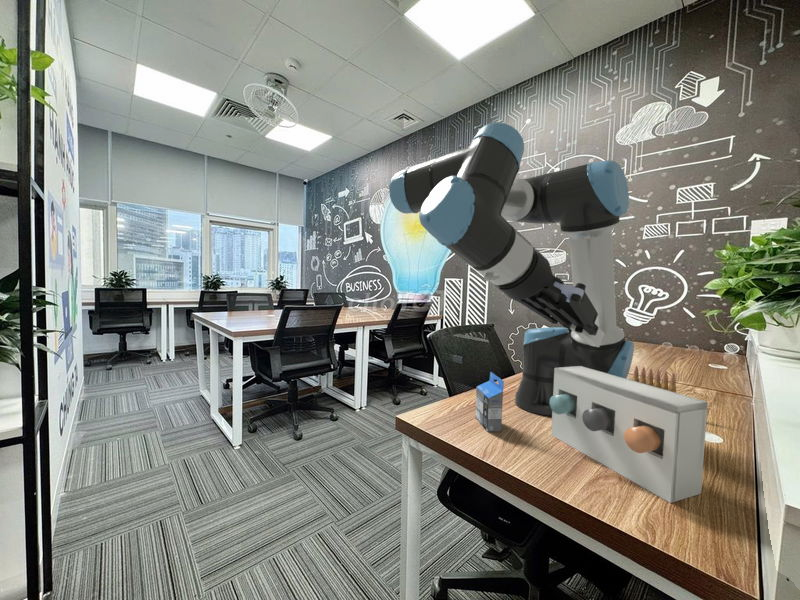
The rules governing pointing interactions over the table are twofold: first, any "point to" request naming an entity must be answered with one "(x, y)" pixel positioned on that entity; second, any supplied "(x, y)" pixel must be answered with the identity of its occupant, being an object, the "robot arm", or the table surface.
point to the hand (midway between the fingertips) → (597, 339)
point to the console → (631, 407)
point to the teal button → (562, 404)
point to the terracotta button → (642, 439)
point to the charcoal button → (597, 419)
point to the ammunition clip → (657, 379)
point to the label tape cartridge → (490, 404)
